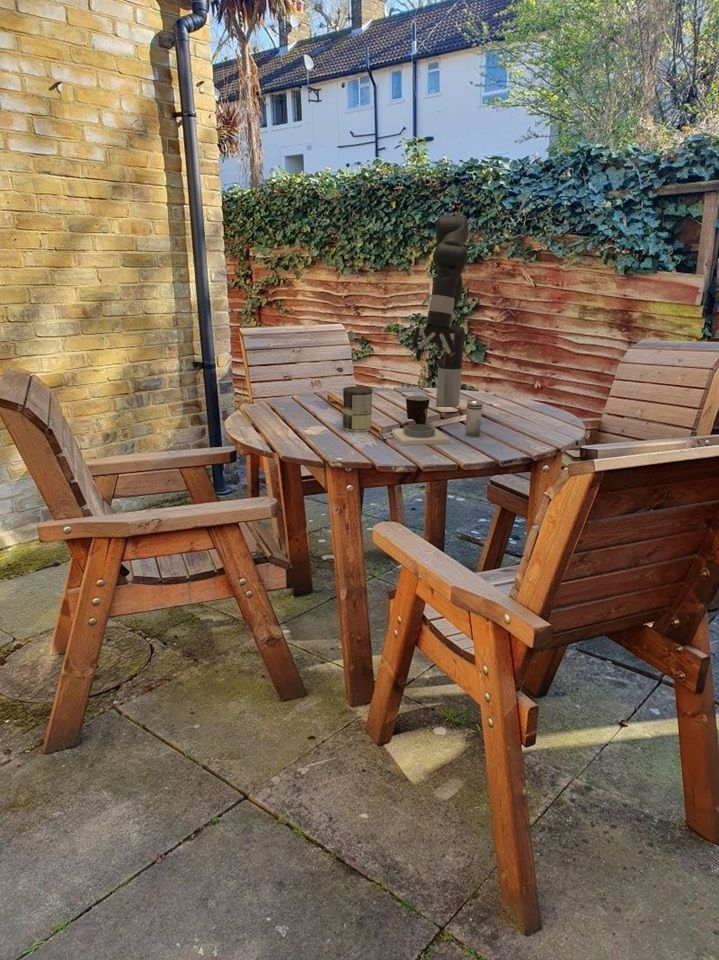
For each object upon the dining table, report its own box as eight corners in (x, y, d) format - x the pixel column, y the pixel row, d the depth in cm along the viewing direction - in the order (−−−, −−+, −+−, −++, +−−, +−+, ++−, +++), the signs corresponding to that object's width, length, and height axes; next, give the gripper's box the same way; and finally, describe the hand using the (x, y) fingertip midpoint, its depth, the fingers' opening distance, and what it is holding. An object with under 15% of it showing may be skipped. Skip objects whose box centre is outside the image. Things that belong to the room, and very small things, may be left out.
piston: (462, 433, 236) (465, 399, 232) (476, 432, 237) (479, 399, 233) (468, 437, 231) (470, 402, 228) (482, 436, 232) (485, 402, 229)
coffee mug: (416, 429, 240) (417, 401, 237) (399, 424, 247) (400, 397, 244) (439, 424, 248) (440, 397, 244) (422, 420, 254) (423, 393, 251)
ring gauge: (390, 433, 234) (390, 423, 233) (434, 431, 237) (434, 421, 236) (402, 445, 219) (402, 434, 218) (449, 443, 223) (449, 433, 221)
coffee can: (337, 430, 237) (338, 390, 232) (349, 423, 246) (349, 385, 241) (365, 433, 233) (366, 392, 229) (375, 426, 242) (376, 387, 238)
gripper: (460, 315, 216) (451, 366, 220) (416, 308, 215) (408, 359, 219) (465, 314, 209) (455, 367, 212) (419, 307, 208) (410, 360, 211)
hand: (431, 363), depth 215 cm, fingers open, 8 cm apart
